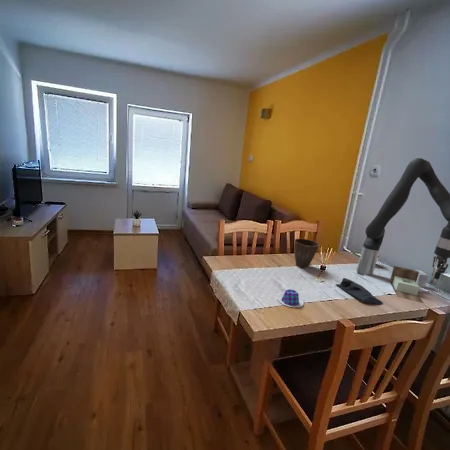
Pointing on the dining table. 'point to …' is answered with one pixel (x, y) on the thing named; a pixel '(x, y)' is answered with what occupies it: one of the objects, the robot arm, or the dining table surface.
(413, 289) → the sliding block
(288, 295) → the checked sun hat
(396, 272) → the track and wall
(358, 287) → the dark folded cloth
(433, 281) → the steel peg
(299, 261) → the plant pot
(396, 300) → the dining table surface
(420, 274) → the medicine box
